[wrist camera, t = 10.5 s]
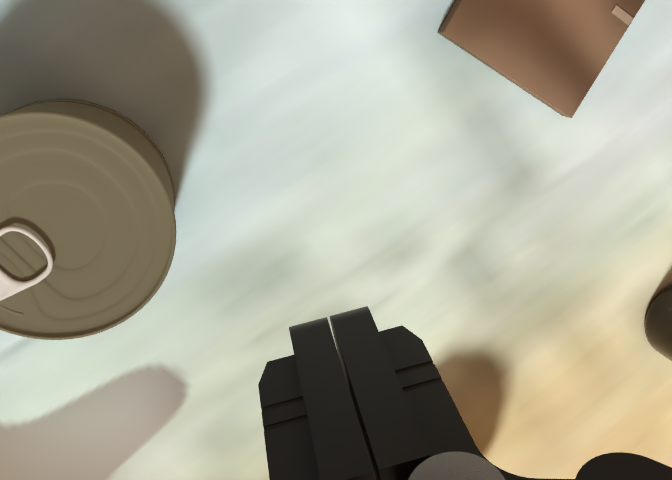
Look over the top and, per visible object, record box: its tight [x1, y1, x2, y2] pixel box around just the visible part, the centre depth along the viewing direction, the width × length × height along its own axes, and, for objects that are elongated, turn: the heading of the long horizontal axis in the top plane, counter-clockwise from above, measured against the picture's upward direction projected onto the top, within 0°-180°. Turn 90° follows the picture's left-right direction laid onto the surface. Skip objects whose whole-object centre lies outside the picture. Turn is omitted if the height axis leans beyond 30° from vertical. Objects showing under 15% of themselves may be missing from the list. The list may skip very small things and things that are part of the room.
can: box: [0, 99, 176, 340], centre depth 34 cm, size 12×12×7 cm
